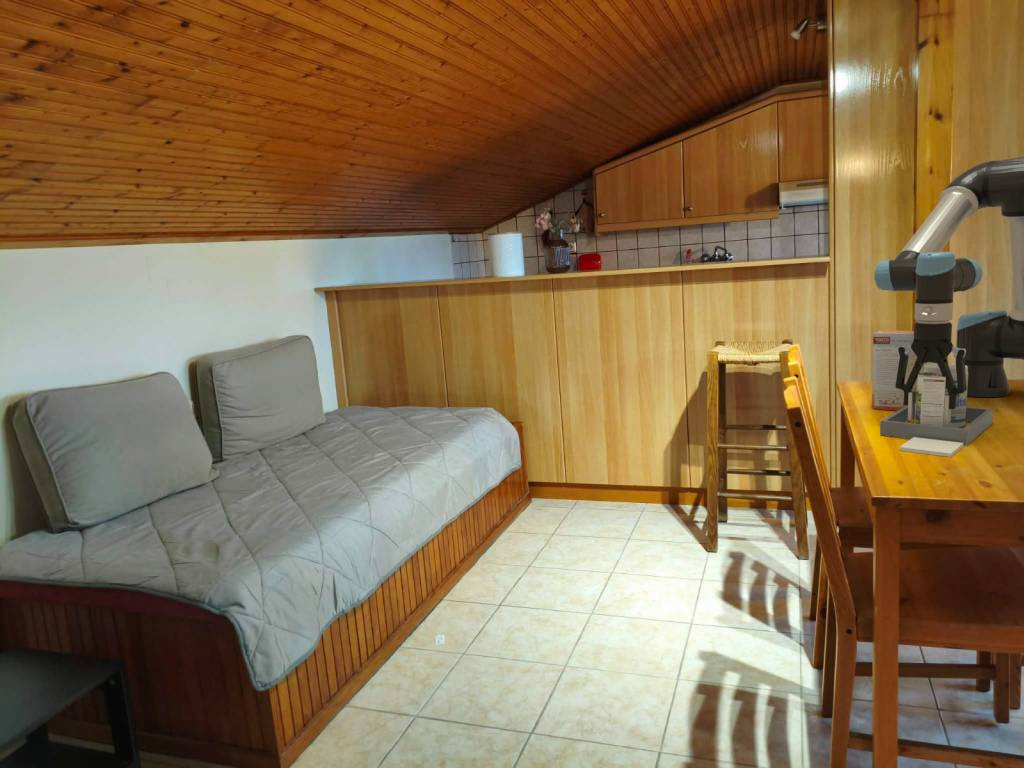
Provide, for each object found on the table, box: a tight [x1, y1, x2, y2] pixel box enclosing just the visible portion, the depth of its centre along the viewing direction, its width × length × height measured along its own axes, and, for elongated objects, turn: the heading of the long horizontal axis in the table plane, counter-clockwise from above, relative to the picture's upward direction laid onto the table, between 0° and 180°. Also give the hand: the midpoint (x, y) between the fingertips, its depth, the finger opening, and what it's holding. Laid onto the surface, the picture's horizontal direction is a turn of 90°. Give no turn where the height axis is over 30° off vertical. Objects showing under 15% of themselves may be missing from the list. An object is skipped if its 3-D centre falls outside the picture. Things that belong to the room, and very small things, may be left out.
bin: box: [879, 405, 994, 446], centre depth 182 cm, size 24×18×4 cm
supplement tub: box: [923, 362, 968, 428], centre depth 185 cm, size 10×10×15 cm
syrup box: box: [914, 372, 946, 426], centre depth 176 cm, size 6×6×14 cm
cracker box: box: [871, 330, 932, 412], centre depth 202 cm, size 14×6×21 cm, turn 48°
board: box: [899, 437, 964, 458], centre depth 167 cm, size 10×10×1 cm
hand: (928, 420), depth 177 cm, fingers closed on syrup box, 7 cm apart
